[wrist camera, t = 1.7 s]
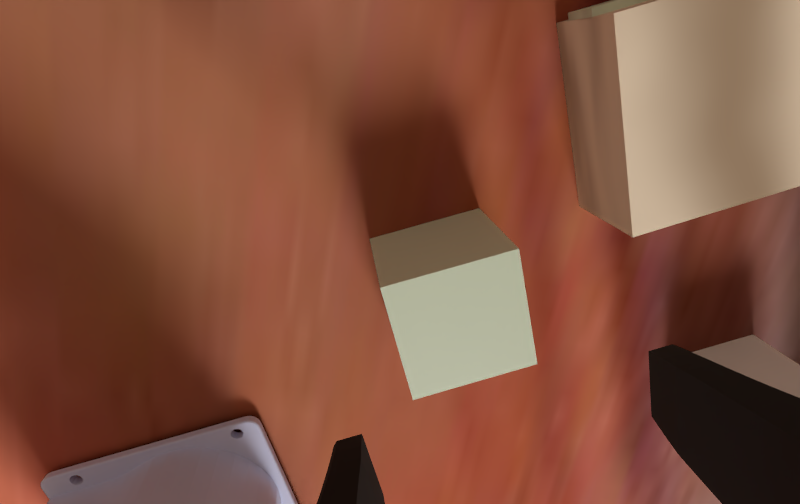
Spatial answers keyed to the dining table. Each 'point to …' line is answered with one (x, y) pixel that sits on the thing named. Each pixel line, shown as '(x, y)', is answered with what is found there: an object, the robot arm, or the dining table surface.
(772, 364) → the grey block
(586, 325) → the dining table surface
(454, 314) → the sage block
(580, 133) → the maple base
